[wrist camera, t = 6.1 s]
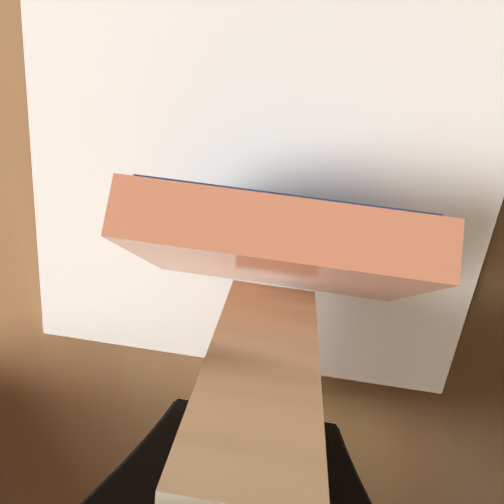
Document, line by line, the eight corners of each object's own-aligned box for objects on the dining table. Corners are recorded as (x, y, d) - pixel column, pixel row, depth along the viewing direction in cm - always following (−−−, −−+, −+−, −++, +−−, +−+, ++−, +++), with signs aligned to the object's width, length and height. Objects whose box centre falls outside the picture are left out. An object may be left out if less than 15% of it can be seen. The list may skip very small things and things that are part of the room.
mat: (438, 385, 18) (441, 393, 18) (49, 327, 19) (43, 333, 19) (562, -15, 13) (571, -19, 13) (24, -69, 14) (15, -74, 14)
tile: (388, 301, 16) (459, 285, 10) (161, 268, 16) (100, 236, 10) (393, 256, 16) (465, 214, 10) (169, 225, 17) (114, 169, 11)
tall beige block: (287, 450, 16) (275, 767, 8) (216, 438, 16) (141, 740, 9) (314, 291, 14) (330, 521, 6) (233, 279, 14) (155, 490, 7)
